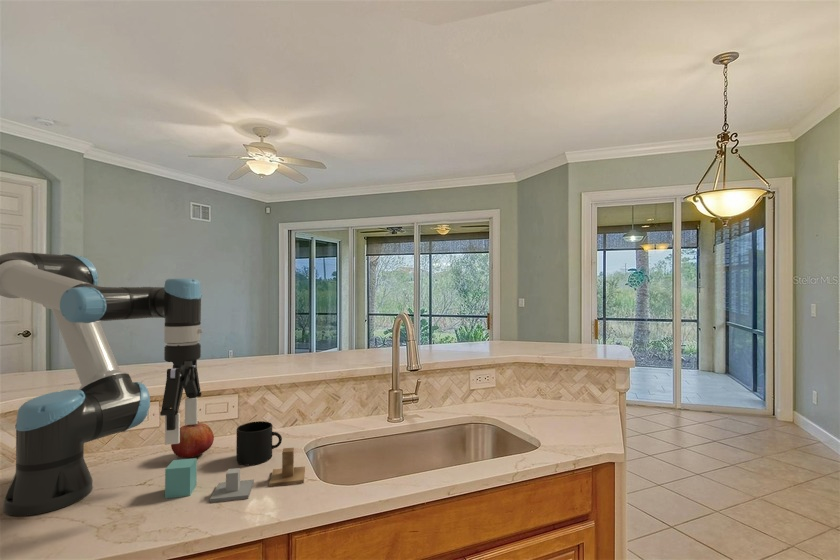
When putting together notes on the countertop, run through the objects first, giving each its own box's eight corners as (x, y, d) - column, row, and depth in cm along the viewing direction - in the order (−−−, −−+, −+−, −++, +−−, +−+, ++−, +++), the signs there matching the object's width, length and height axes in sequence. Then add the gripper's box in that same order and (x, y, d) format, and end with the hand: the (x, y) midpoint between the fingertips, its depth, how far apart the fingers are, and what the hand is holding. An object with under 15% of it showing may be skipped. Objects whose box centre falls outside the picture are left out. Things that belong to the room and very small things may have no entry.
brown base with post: (269, 486, 102) (269, 457, 102) (273, 472, 110) (273, 445, 110) (303, 483, 103) (303, 454, 104) (305, 469, 111) (305, 442, 111)
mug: (280, 462, 115) (280, 429, 116) (233, 467, 112) (233, 433, 113) (282, 449, 125) (283, 419, 125) (239, 453, 122) (239, 422, 122)
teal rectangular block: (164, 498, 96) (165, 469, 96) (172, 487, 101) (173, 460, 101) (189, 495, 97) (190, 467, 97) (196, 485, 102) (196, 458, 102)
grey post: (210, 502, 94) (210, 480, 94) (218, 486, 102) (219, 465, 102) (248, 498, 96) (248, 476, 96) (253, 482, 104) (254, 462, 104)
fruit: (215, 447, 126) (216, 414, 126) (210, 460, 117) (211, 424, 117) (175, 452, 123) (176, 417, 123) (167, 466, 113) (167, 428, 113)
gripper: (183, 350, 88) (182, 451, 88) (213, 336, 113) (213, 416, 112) (143, 351, 87) (142, 455, 86) (182, 337, 111) (182, 418, 111)
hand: (182, 433), depth 99 cm, fingers open, 13 cm apart
